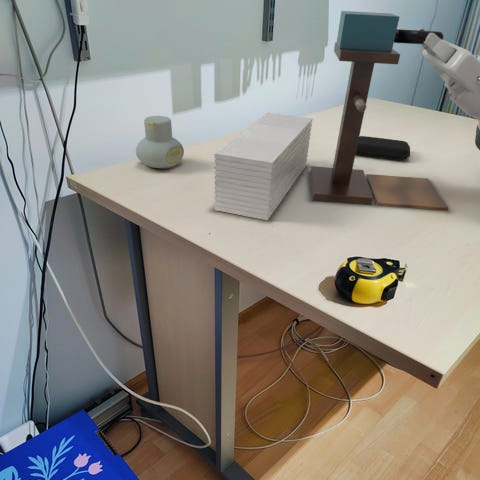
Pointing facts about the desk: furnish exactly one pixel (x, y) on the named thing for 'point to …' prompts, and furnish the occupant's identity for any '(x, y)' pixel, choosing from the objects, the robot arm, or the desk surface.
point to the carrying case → (383, 148)
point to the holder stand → (350, 132)
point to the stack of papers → (261, 165)
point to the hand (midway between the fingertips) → (422, 34)
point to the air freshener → (159, 144)
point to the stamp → (375, 32)
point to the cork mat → (404, 192)
